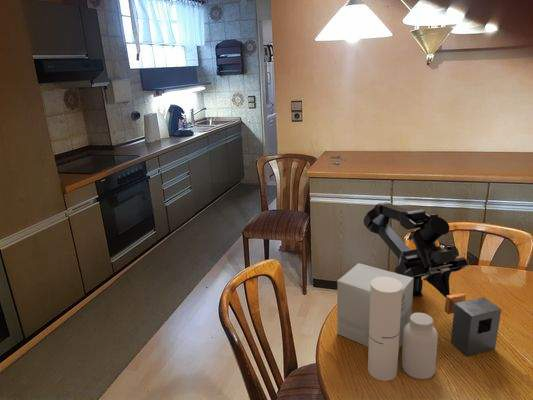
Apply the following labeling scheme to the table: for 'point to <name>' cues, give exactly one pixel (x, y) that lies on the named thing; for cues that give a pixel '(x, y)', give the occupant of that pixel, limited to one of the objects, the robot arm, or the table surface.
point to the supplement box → (366, 302)
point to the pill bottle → (419, 346)
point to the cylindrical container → (384, 327)
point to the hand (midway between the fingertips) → (447, 297)
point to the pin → (453, 301)
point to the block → (475, 326)
